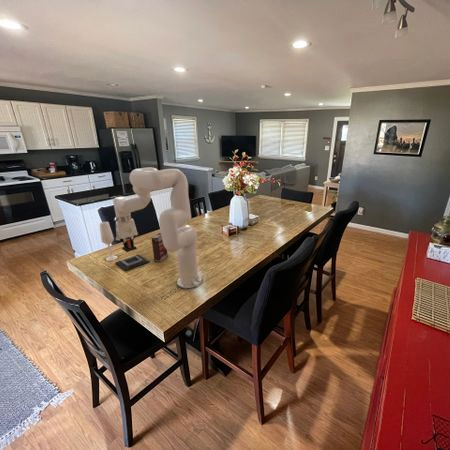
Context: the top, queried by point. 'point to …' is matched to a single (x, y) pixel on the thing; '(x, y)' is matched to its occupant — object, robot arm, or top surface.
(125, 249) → the stud pad
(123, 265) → the base pad
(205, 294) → the top surface
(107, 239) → the champagne flute
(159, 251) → the supplement box
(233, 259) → the top surface
